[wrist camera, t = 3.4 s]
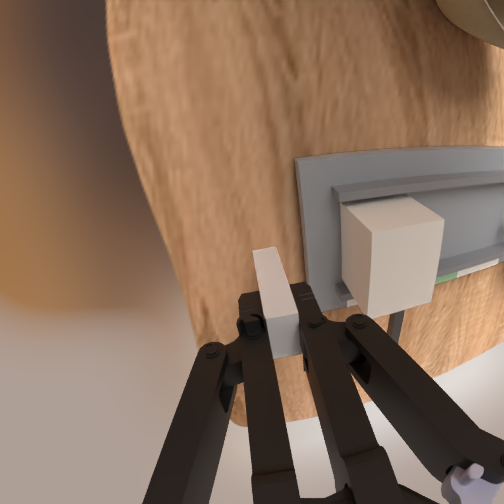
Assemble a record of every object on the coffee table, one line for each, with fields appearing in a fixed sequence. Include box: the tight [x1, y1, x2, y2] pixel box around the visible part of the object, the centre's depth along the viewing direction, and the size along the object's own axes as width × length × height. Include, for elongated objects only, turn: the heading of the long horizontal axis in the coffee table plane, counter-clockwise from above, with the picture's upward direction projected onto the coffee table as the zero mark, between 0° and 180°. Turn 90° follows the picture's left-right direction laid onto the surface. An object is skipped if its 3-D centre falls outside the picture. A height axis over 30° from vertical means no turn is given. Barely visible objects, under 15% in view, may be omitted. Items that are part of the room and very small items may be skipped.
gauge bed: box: [294, 146, 504, 312], centre depth 19 cm, size 12×28×7 cm, turn 99°
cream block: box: [340, 193, 445, 344], centre depth 19 cm, size 10×5×5 cm, turn 9°
